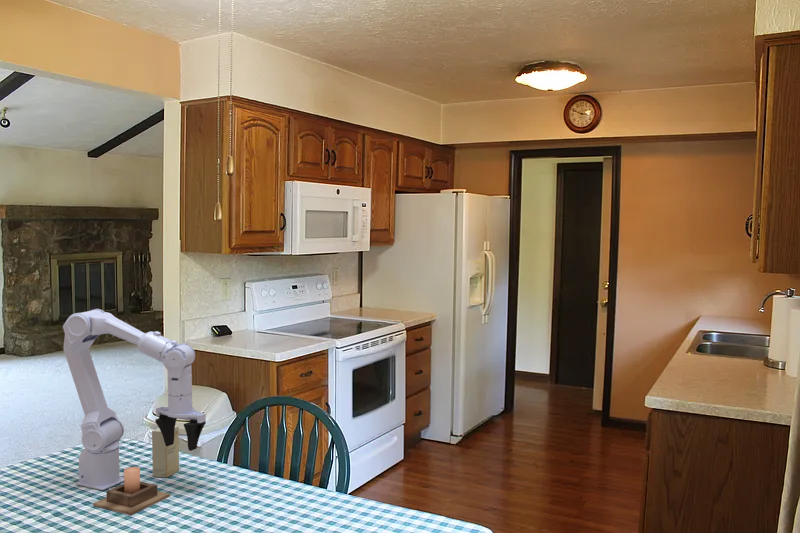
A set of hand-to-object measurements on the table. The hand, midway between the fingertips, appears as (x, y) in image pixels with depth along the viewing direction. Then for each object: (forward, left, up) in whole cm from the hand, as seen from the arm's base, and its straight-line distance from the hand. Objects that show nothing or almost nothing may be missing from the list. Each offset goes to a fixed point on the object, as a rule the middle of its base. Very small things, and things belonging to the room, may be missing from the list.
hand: (181, 447), depth 165 cm
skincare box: (-10, +5, -10) cm, 16 cm away
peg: (-4, -12, -10) cm, 16 cm away
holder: (-4, -12, -10) cm, 16 cm away
